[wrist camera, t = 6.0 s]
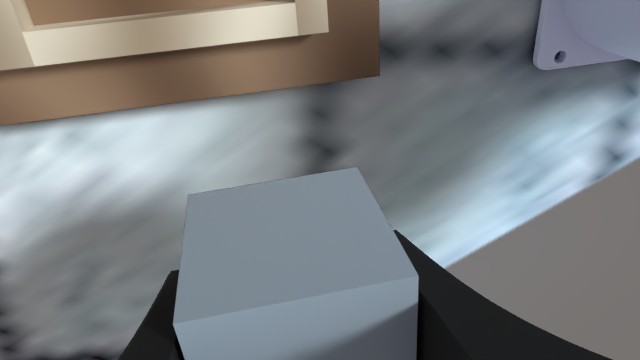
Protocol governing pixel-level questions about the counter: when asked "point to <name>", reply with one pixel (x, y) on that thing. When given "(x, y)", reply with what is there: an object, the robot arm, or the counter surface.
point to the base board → (174, 51)
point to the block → (294, 274)
